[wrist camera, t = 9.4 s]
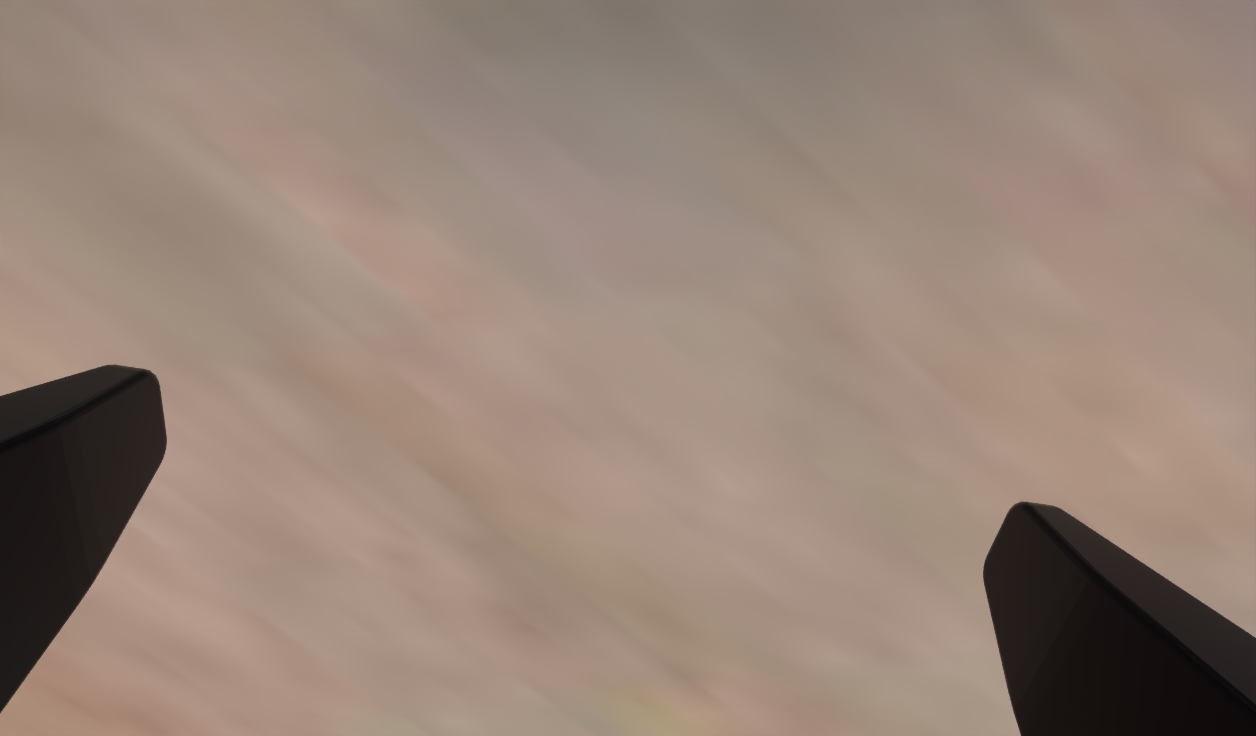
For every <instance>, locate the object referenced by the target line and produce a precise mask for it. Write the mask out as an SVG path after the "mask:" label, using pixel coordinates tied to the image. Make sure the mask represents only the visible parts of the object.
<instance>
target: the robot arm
mask: <svg viewBox="0 0 1256 736" xmlns="http://www.w3.org/2000/svg"><path fill="white" fill-rule="evenodd" d="M166 444H167V436H166V428H165V421H164V413H163V406H162V398H161V391H160V385H159V381H158V379H157V377H156V375H154V374H153V373H152V372H151V371H149V370H146V369H140V368H134V367H127V366H120V365H106V366H102V367H98V368H95V369H92V370H88V371H85V372H81V373H78V374H74V375H71V376H68V377H64V378H61V379H57V380H54V381H50V382H47V383H44V384H40V385H37V386H33V387H30V388H26V389H23V390H20V391H16V392H13V393H9V394H6V395H3V396H0V713H1V712H2V710H3V709H4V707H5V706H6V705H7V703H8V702H9V701H10V699H11V698H12V696H13V695H14V694H15V692H16V691H17V689H18V688H19V687H20V685H21V684H22V682H23V681H24V680H25V678H26V677H27V675H28V674H29V673H30V671H31V670H32V668H33V667H34V666H35V664H36V663H37V662H38V660H39V659H40V657H41V656H42V655H43V653H44V652H45V650H46V649H47V648H48V646H49V645H50V643H51V642H52V641H53V639H54V638H55V636H56V635H57V634H58V632H59V631H60V629H61V628H62V627H63V625H64V624H65V622H66V621H67V620H68V618H69V617H70V616H71V614H72V613H73V611H74V610H75V609H76V607H77V606H78V604H79V603H80V601H81V600H82V598H83V597H84V596H85V594H86V593H87V591H88V590H89V588H90V587H91V585H92V584H93V582H94V580H95V579H96V577H97V575H98V574H99V572H100V571H101V569H102V567H103V566H104V564H105V562H106V560H107V559H108V557H109V555H110V553H111V551H112V550H113V548H114V546H115V544H116V543H117V541H118V539H119V537H120V535H121V534H122V532H123V530H124V528H125V527H126V525H127V523H128V521H129V519H130V518H131V516H132V514H133V512H134V511H135V509H136V507H137V505H138V503H139V502H140V500H141V498H142V496H143V494H144V493H145V491H146V489H147V487H148V486H149V484H150V482H151V480H152V478H153V477H154V475H155V473H156V471H157V470H158V468H159V466H160V464H161V462H162V460H163V457H164V454H165V450H166ZM983 579H984V585H985V590H986V594H987V599H988V603H989V608H990V612H991V617H992V621H993V625H994V630H995V634H996V639H997V643H998V648H999V652H1000V657H1001V661H1002V666H1003V670H1004V675H1005V679H1006V683H1007V688H1008V692H1009V696H1010V700H1011V703H1012V707H1013V711H1014V714H1015V718H1016V721H1017V724H1018V727H1019V730H1020V734H1021V736H1256V638H1255V637H1254V636H1252V635H1251V634H1249V633H1248V632H1246V631H1245V630H1243V629H1242V628H1240V627H1239V626H1237V625H1236V624H1234V623H1233V622H1231V621H1230V620H1228V619H1226V618H1225V617H1223V616H1222V615H1220V614H1219V613H1217V612H1216V611H1214V610H1213V609H1211V608H1210V607H1208V606H1207V605H1205V604H1204V603H1202V602H1201V601H1199V600H1198V599H1196V598H1195V597H1193V596H1192V595H1190V594H1189V593H1187V592H1186V591H1184V590H1183V589H1181V588H1180V587H1178V586H1177V585H1175V584H1174V583H1172V582H1171V581H1169V580H1168V579H1166V578H1165V577H1163V576H1162V575H1160V574H1159V573H1157V572H1156V571H1154V570H1153V569H1151V568H1149V567H1148V566H1146V565H1145V564H1143V563H1142V562H1140V561H1139V560H1137V559H1136V558H1134V557H1133V556H1131V555H1130V554H1128V553H1127V552H1125V551H1124V550H1122V549H1121V548H1119V547H1118V546H1116V545H1115V544H1113V543H1112V542H1110V541H1109V540H1107V539H1106V538H1104V537H1103V536H1101V535H1100V534H1098V533H1097V532H1095V531H1094V530H1092V529H1091V528H1089V527H1088V526H1086V525H1085V524H1083V523H1082V522H1080V521H1079V520H1077V519H1076V518H1074V517H1073V516H1071V515H1069V514H1068V513H1066V512H1065V511H1063V510H1062V509H1060V508H1058V507H1055V506H1051V505H1045V504H1038V503H1031V502H1019V503H1017V504H1015V505H1014V506H1013V507H1012V508H1011V509H1010V510H1009V512H1008V513H1007V515H1006V517H1005V519H1004V522H1003V524H1002V526H1001V528H1000V530H999V532H998V534H997V536H996V538H995V540H994V542H993V544H992V546H991V548H990V550H989V553H988V555H987V557H986V560H985V563H984V569H983Z"/></svg>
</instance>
